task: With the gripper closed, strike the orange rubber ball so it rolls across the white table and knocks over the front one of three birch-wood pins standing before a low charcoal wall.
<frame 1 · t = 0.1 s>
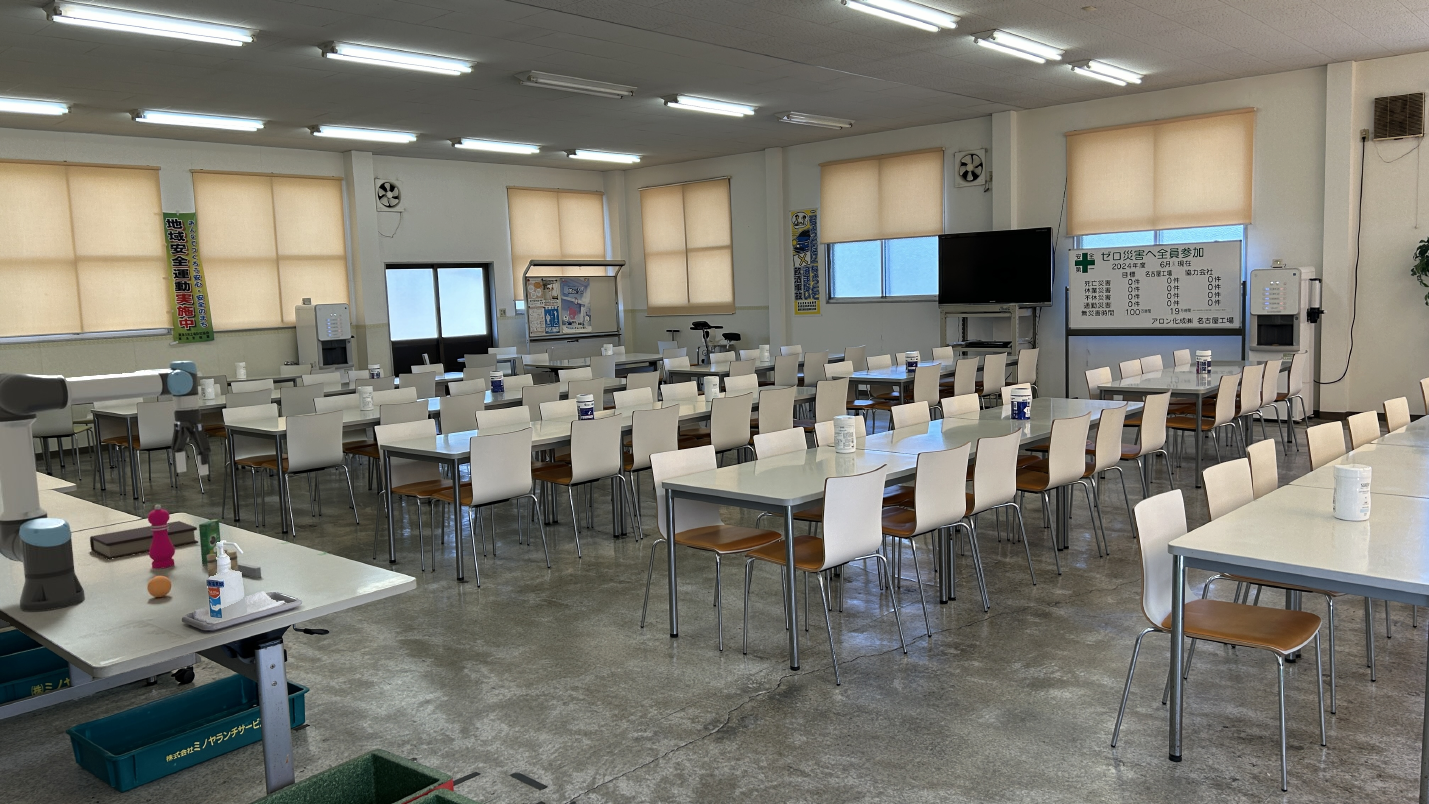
hand: (192, 473, 323), 28 cm above the table, tool pointing down, fingers open, 13 cm apart
coffee box: (212, 561, 319), on the table
ball: (159, 586, 280), on the table
pepper mill: (163, 566, 315), on the table
left back pin: (225, 577, 299), on the table
front pin: (213, 582, 293), on the table
right back pin: (234, 579, 296), on the table
book: (145, 548, 344), on the table
back wall: (245, 574, 302), on the table
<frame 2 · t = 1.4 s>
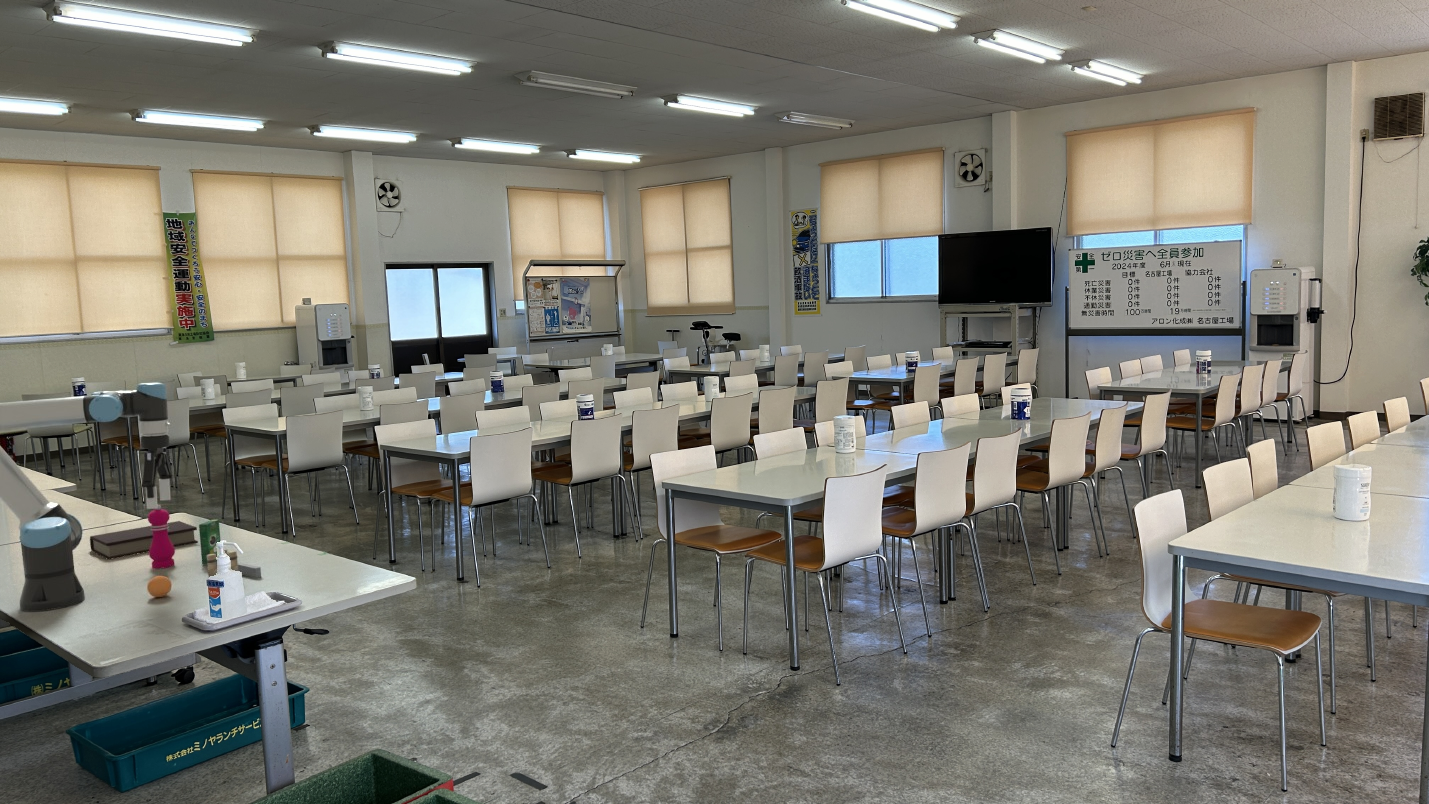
hand: (158, 504, 298), 23 cm above the table, tool pointing down, fingers open, 13 cm apart
nothing on the table moved.
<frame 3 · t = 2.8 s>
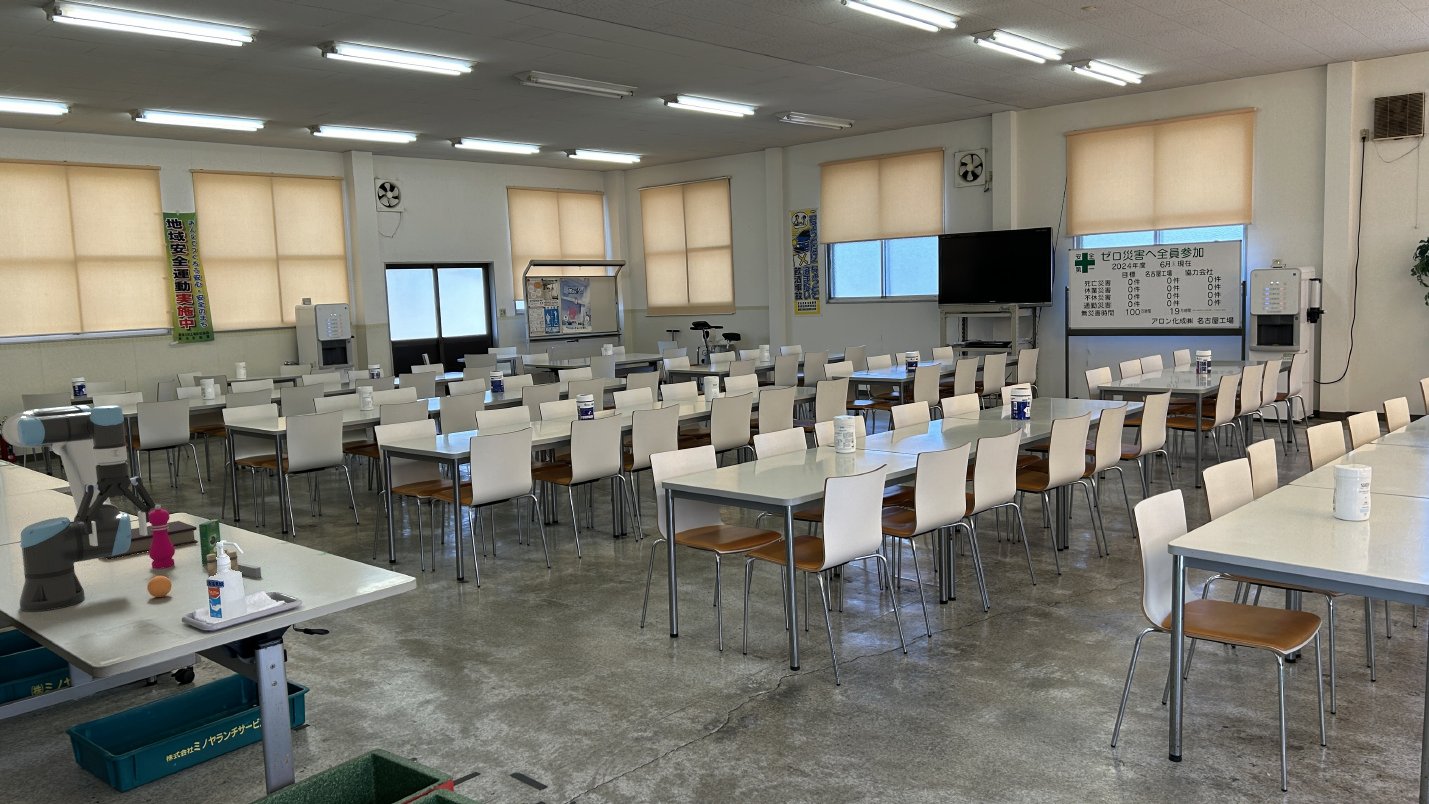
hand: (119, 540, 271), 18 cm above the table, tool pointing down, fingers open, 12 cm apart
nothing on the table moved.
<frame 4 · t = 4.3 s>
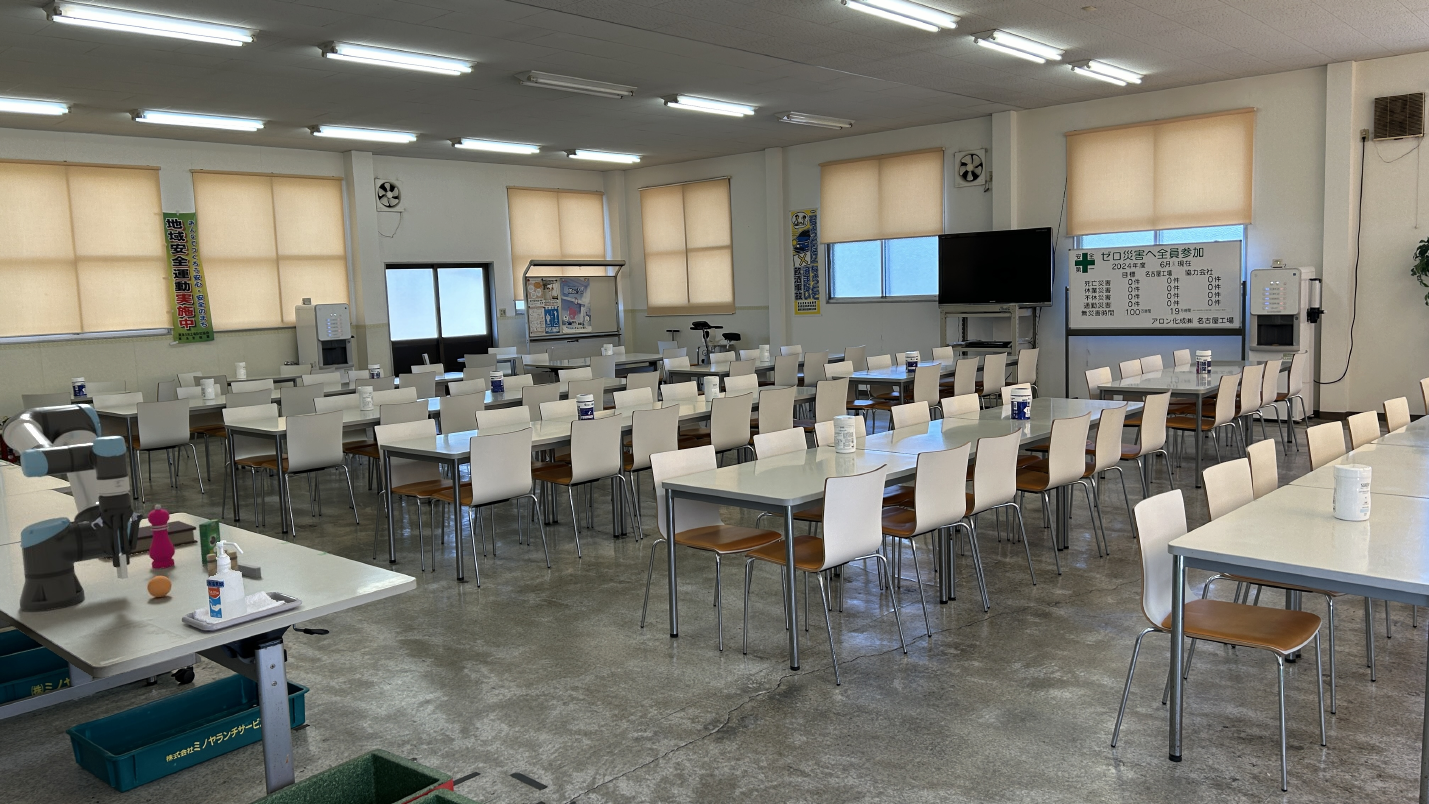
hand: (122, 577, 272), 8 cm above the table, tool pointing down, fingers closed
nothing on the table moved.
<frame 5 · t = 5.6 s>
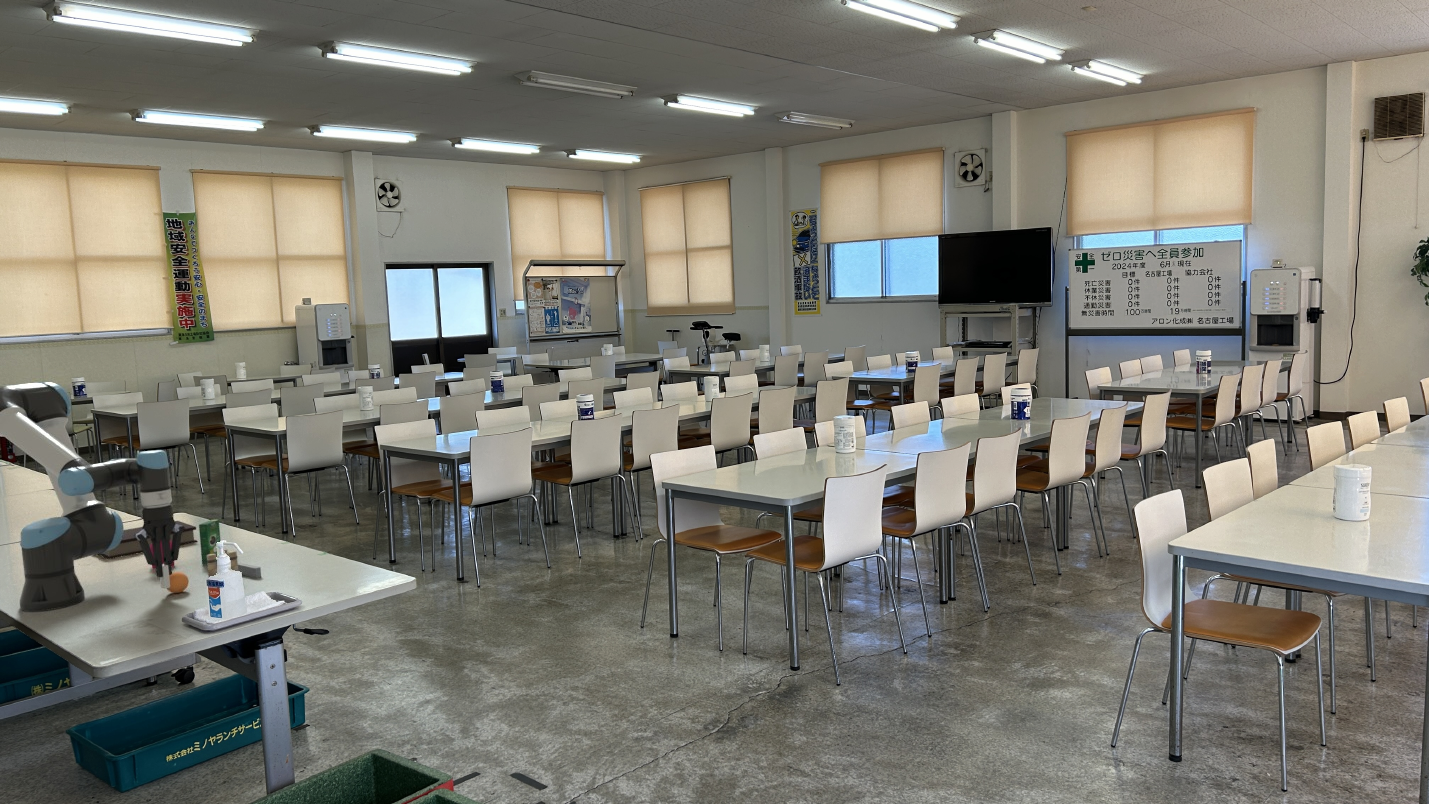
hand: (165, 587, 280), 3 cm above the table, tool pointing down, fingers closed
ball: (176, 582, 284), on the table, touching gripper
everything else where it was.
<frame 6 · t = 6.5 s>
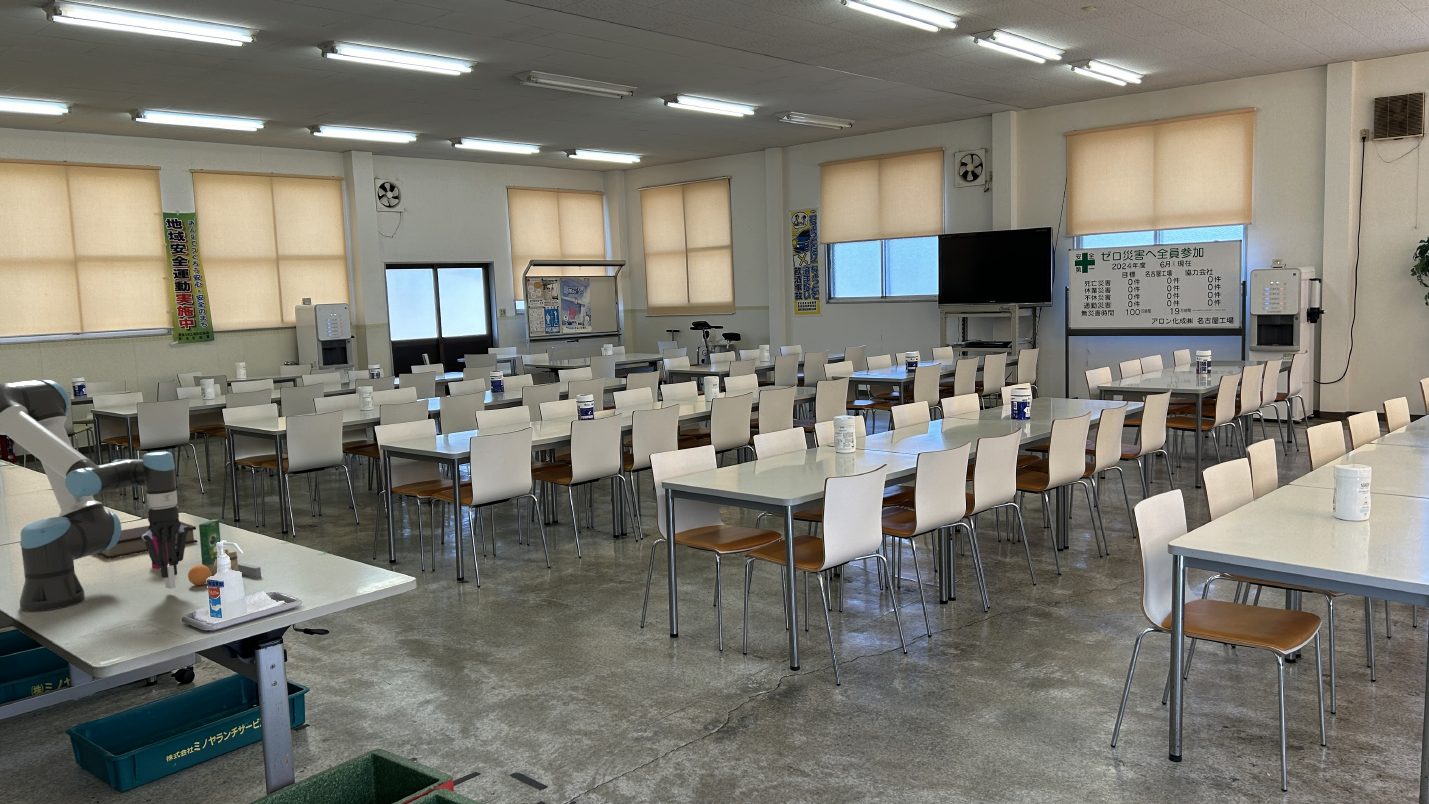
hand: (170, 587, 283), 2 cm above the table, tool pointing down, fingers closed
ball: (199, 575, 291), on the table
front pin: (214, 581, 293), on the table, tilted 25°
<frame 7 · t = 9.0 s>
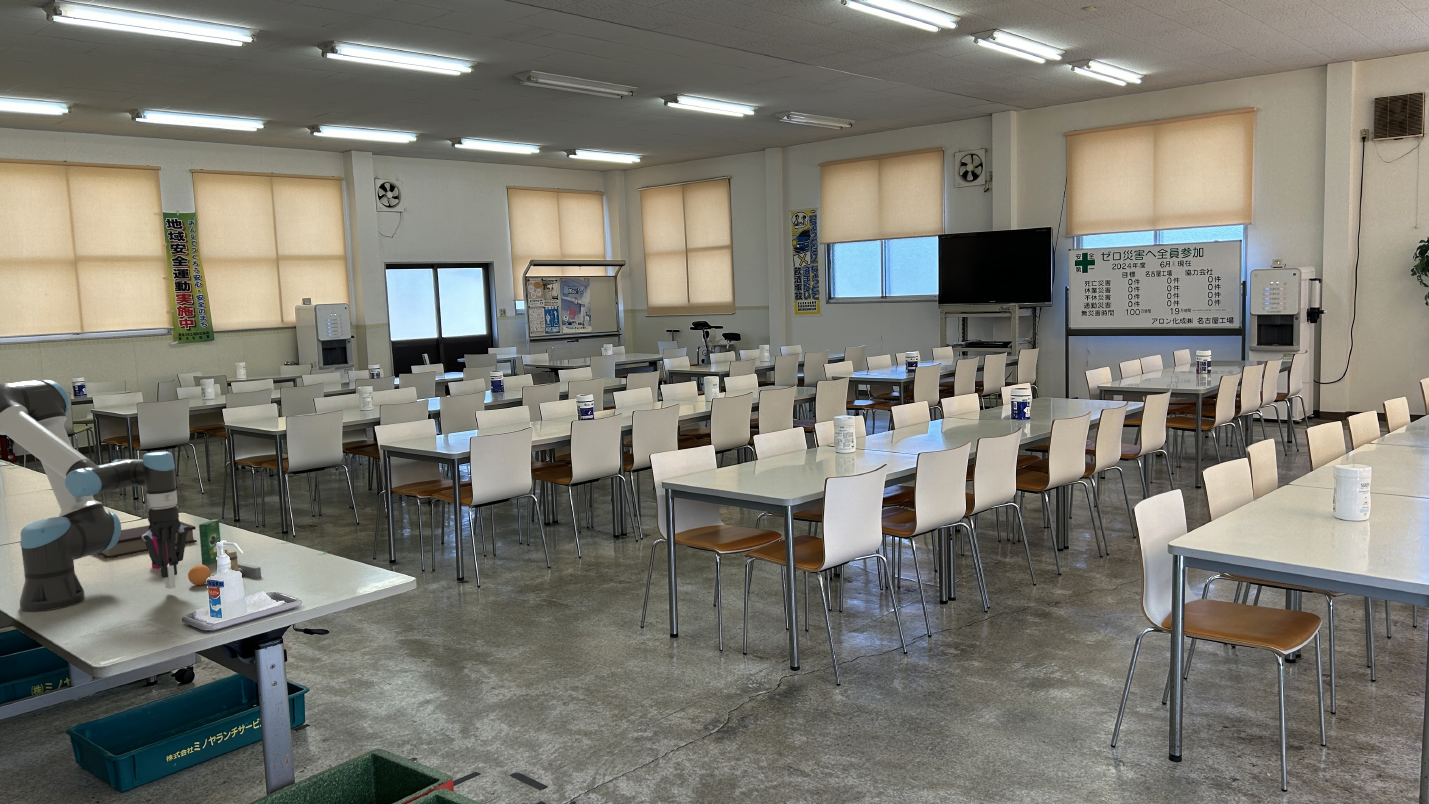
hand: (170, 587, 283), 2 cm above the table, tool pointing down, fingers closed
front pin: (213, 579, 293), point 1 cm above the table, tilted 90°
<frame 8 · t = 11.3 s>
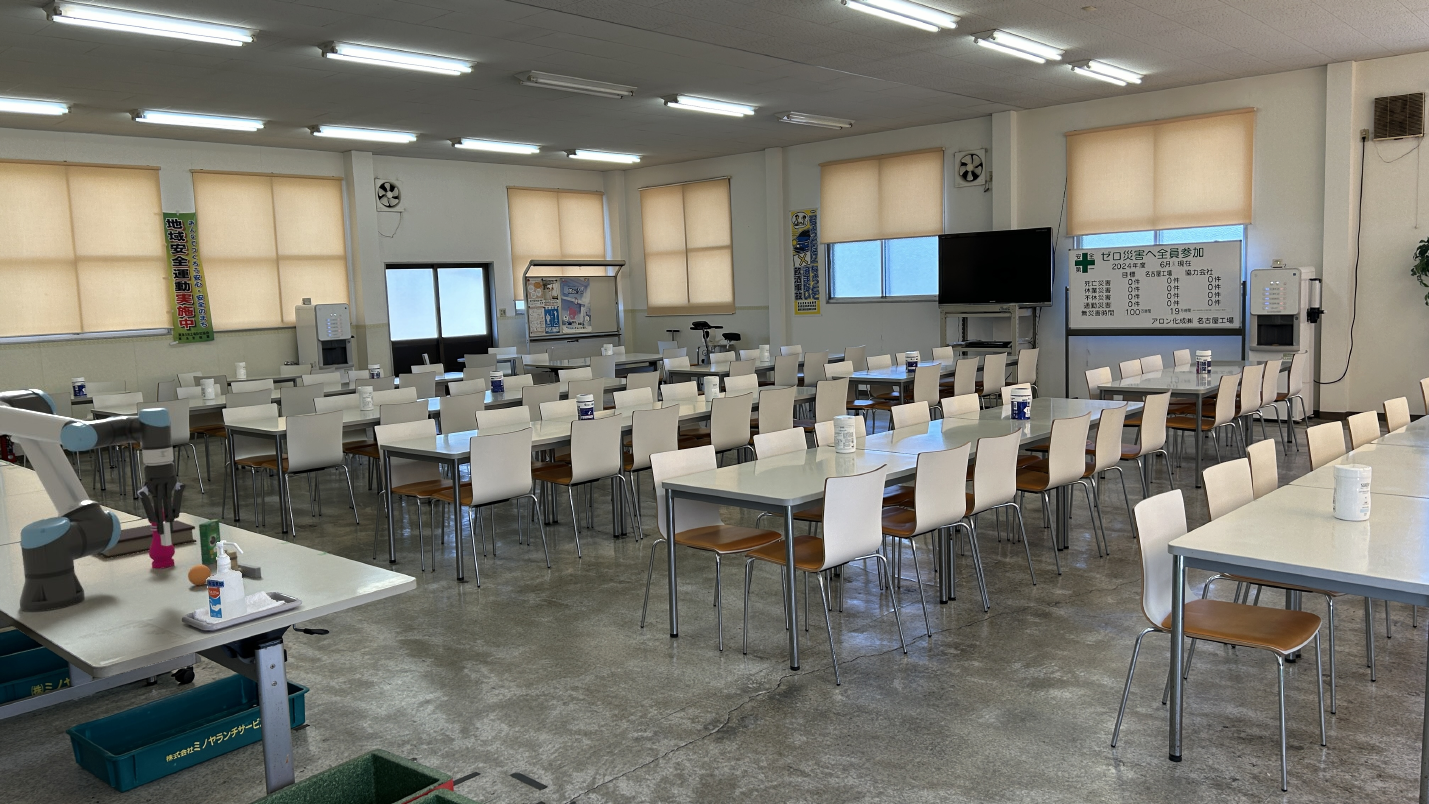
hand: (166, 544, 282), 14 cm above the table, tool pointing down, fingers closed
front pin: (213, 579, 293), point 1 cm above the table, tilted 90°, touching right back pin
right back pin: (234, 579, 296), on the table, touching front pin
at the end: front pin tilted 90°; front pin never touched the robot; ball moved 12.5 cm from its start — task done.
